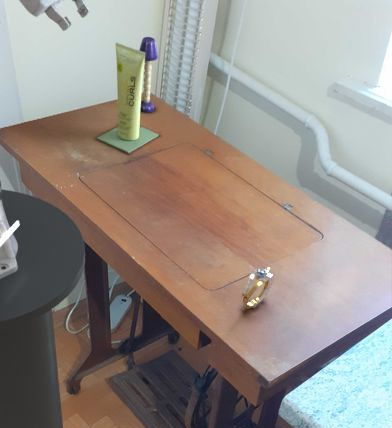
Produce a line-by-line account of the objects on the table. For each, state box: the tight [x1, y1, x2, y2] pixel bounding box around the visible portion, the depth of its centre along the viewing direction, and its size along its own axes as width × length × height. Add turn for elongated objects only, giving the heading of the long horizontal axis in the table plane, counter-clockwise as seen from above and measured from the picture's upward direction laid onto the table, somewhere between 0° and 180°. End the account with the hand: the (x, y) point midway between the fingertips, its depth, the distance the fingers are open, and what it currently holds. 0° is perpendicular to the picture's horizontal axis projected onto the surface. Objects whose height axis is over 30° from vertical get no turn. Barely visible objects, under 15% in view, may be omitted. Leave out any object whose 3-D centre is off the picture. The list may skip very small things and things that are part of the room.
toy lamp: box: [139, 36, 159, 114], centre depth 132 cm, size 5×5×17 cm
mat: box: [97, 125, 159, 154], centre depth 127 cm, size 12×9×1 cm
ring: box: [240, 267, 275, 310], centre depth 91 cm, size 7×3×8 cm, turn 131°
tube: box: [115, 42, 145, 141], centre depth 120 cm, size 6×5×20 cm
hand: (77, 21), depth 112 cm, fingers open, 8 cm apart
